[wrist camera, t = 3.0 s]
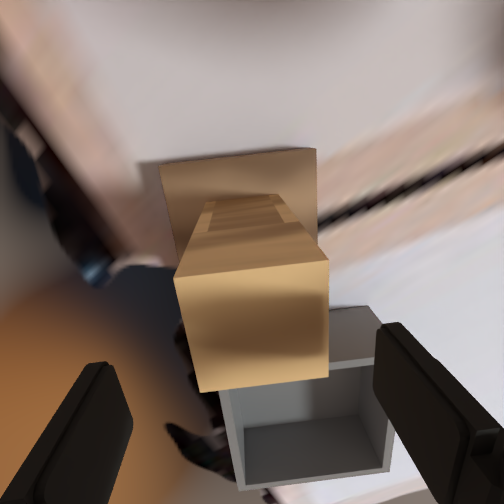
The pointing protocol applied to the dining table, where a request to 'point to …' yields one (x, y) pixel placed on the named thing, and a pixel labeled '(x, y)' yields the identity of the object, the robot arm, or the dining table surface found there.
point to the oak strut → (254, 296)
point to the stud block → (240, 186)
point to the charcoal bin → (314, 416)
